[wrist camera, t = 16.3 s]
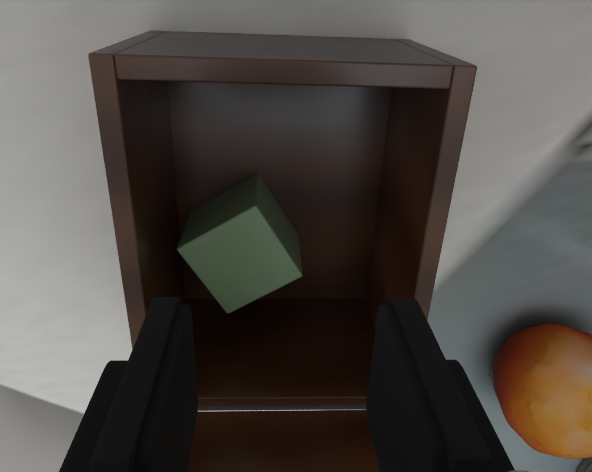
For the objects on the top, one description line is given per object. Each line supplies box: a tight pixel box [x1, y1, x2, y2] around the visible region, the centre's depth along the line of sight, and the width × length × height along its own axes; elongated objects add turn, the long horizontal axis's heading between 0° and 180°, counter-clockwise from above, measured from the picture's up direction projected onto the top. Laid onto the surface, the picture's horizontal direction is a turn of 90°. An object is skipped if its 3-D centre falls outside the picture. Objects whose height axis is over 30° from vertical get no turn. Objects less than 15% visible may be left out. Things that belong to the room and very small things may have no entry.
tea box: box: [177, 173, 302, 313], centre depth 25 cm, size 4×4×4 cm
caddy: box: [88, 31, 477, 411], centre depth 23 cm, size 16×13×9 cm
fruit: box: [489, 323, 592, 459], centre depth 31 cm, size 8×8×8 cm
